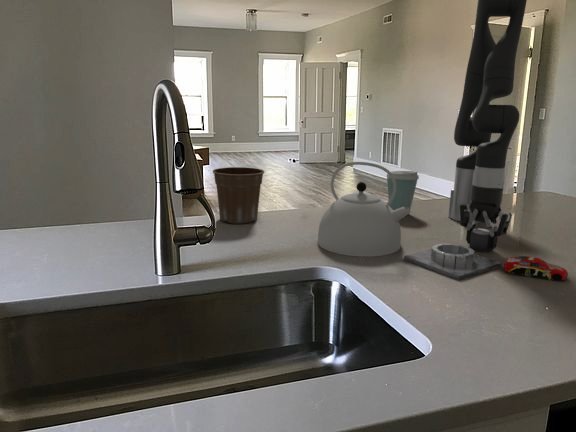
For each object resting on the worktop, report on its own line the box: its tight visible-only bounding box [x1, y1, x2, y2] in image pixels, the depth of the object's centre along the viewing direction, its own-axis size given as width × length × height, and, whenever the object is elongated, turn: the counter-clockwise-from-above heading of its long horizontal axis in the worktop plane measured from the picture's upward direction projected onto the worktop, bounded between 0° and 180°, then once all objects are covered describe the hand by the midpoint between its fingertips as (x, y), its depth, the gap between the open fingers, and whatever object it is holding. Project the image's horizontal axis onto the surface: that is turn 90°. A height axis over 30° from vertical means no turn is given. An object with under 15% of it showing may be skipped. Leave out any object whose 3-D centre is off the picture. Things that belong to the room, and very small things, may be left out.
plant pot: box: [212, 166, 265, 225], centre depth 151 cm, size 16×16×16 cm
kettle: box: [317, 161, 413, 258], centre depth 127 cm, size 25×23×22 cm
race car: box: [503, 255, 569, 282], centre depth 108 cm, size 13×5×4 cm, turn 65°
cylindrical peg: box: [468, 228, 493, 253], centre depth 125 cm, size 6×6×5 cm
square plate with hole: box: [403, 243, 502, 281], centre depth 114 cm, size 16×16×4 cm
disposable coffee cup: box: [386, 170, 420, 210], centre depth 161 cm, size 11×11×15 cm
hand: (480, 246), depth 126 cm, fingers closed on cylindrical peg, 5 cm apart
